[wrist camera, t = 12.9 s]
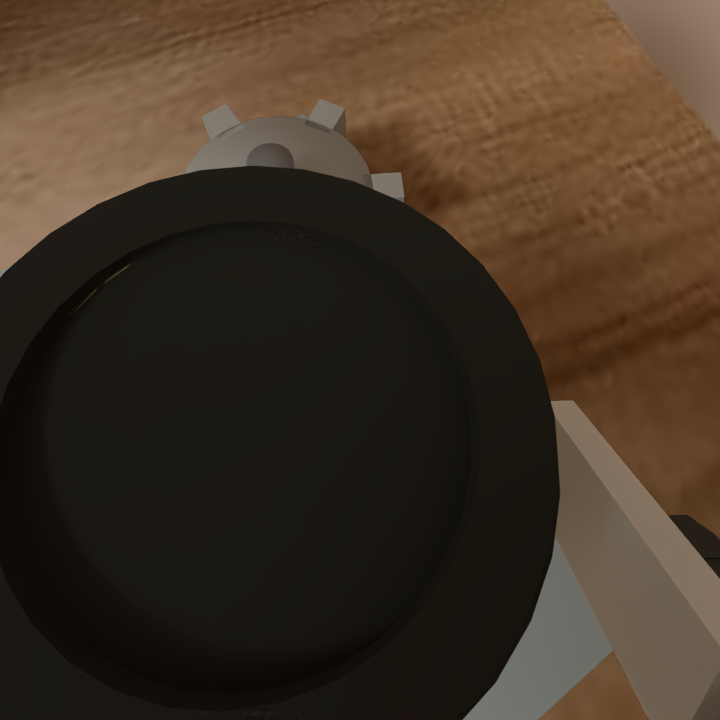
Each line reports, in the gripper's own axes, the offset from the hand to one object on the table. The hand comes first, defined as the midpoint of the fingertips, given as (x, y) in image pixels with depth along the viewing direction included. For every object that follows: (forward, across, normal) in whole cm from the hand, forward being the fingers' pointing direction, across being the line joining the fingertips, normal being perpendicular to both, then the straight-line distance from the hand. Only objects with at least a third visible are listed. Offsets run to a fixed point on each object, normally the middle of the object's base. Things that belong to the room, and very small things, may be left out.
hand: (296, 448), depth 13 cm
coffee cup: (+6, 0, -7) cm, 9 cm away
